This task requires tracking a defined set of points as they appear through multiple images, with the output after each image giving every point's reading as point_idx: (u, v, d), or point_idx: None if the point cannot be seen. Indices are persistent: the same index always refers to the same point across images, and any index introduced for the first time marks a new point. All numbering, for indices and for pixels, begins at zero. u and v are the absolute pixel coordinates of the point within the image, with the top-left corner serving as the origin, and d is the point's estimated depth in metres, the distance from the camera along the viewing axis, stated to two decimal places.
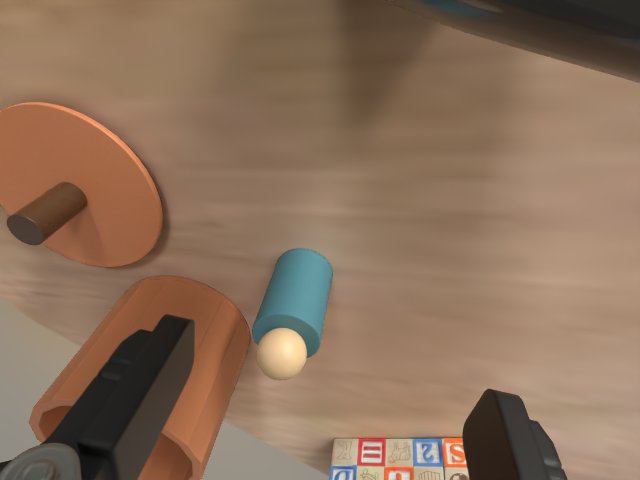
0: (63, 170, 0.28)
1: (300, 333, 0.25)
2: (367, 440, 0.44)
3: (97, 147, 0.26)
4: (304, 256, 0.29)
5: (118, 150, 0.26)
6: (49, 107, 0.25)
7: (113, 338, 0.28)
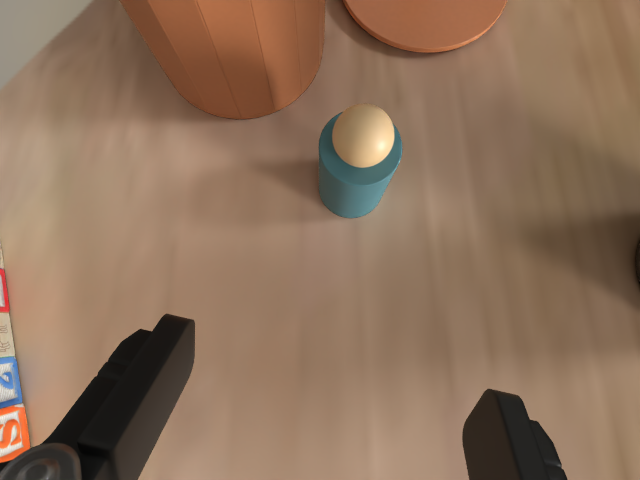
0: None
1: None
2: (3, 282, 0.27)
3: (479, 10, 0.30)
4: None
5: (479, 27, 0.30)
6: None
7: None
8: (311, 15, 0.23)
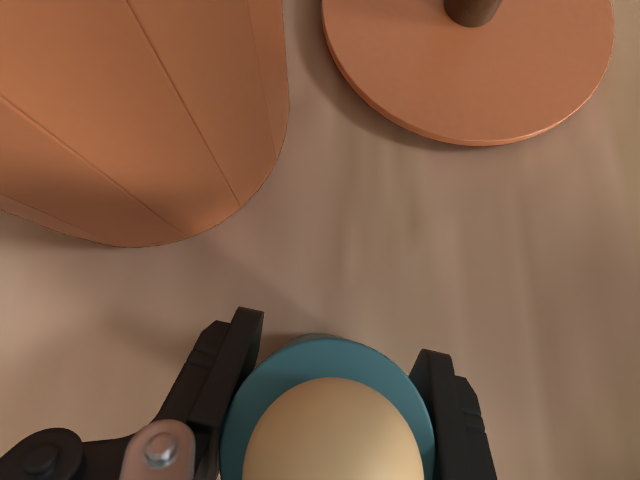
0: (514, 12, 0.18)
1: None
2: None
3: (562, 78, 0.17)
4: None
5: (562, 108, 0.17)
6: (610, 34, 0.18)
7: None
8: (239, 91, 0.10)
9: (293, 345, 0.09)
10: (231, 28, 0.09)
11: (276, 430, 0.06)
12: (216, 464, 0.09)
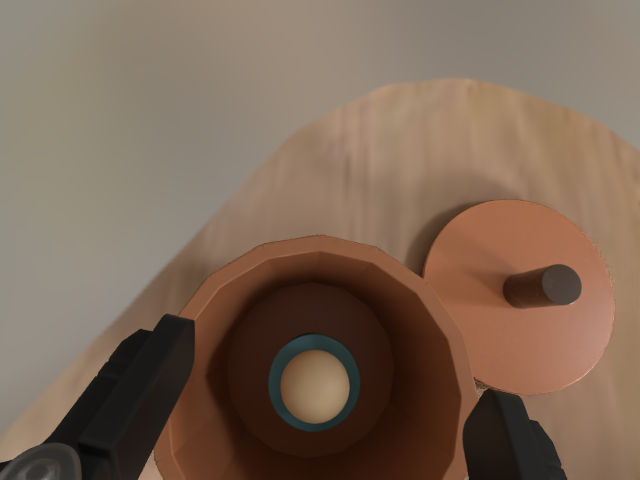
0: None
1: None
2: None
3: (581, 346, 0.27)
4: None
5: (581, 369, 0.26)
6: (612, 310, 0.27)
7: None
8: None
9: (299, 337, 0.20)
10: None
11: (293, 367, 0.17)
12: None
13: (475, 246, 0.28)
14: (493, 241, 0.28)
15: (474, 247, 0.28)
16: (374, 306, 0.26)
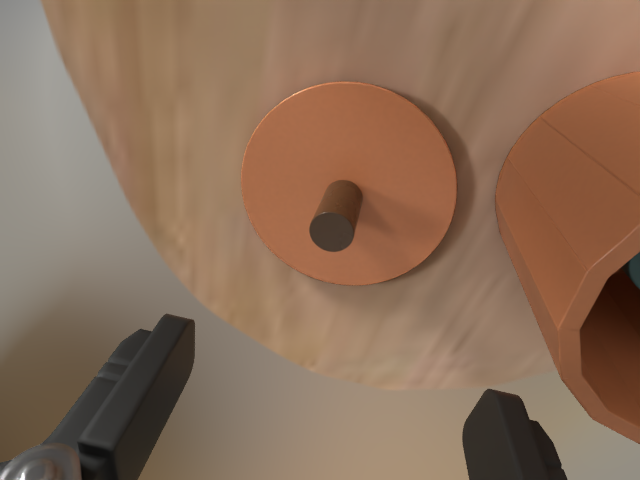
0: (312, 183, 0.24)
1: None
2: None
3: (297, 122, 0.23)
4: None
5: (305, 98, 0.22)
6: (248, 148, 0.24)
7: (531, 230, 0.17)
8: (607, 138, 0.15)
9: None
10: (624, 158, 0.13)
11: None
12: None
13: (371, 252, 0.26)
14: (350, 250, 0.26)
15: (373, 251, 0.26)
16: None
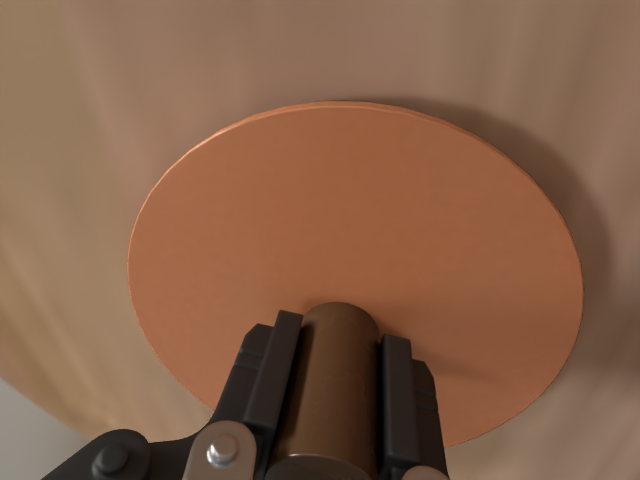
0: (272, 320, 0.12)
1: None
2: None
3: (196, 223, 0.11)
4: None
5: (191, 172, 0.10)
6: (133, 286, 0.12)
7: None
8: None
9: None
10: None
11: None
12: None
13: None
14: None
15: None
16: None
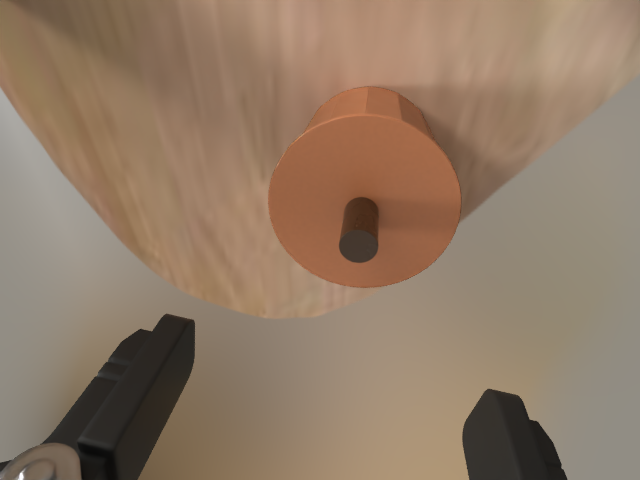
0: (331, 207, 0.28)
1: None
2: None
3: (304, 162, 0.26)
4: None
5: (306, 140, 0.26)
6: (270, 193, 0.28)
7: None
8: None
9: None
10: None
11: None
12: None
13: (399, 251, 0.29)
14: (380, 254, 0.29)
15: (400, 250, 0.29)
16: None
